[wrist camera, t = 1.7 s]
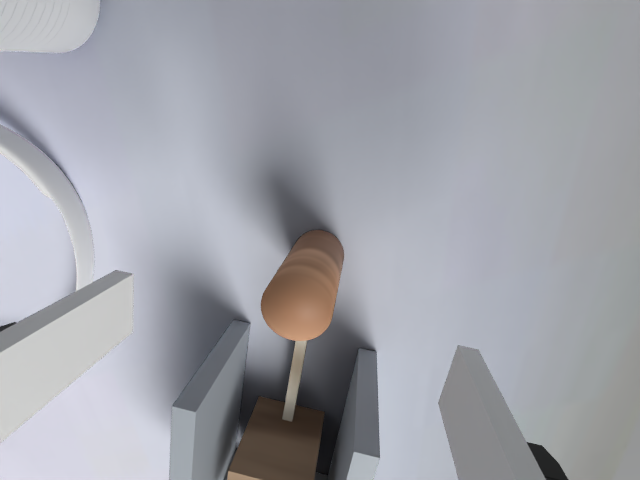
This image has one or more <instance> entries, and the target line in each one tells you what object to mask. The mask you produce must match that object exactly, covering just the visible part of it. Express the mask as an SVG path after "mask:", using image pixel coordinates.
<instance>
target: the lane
mask: <svg viewBox="0 0 640 480" xmlns="http://www.w3.org/2000/svg"><path fill="white" fill-rule="evenodd" d="M249 331H250V323H247V322H242V321H238V320H233V321H232V323H231V324H230V325H229V327H228V328H227V330H226V331H225V333H224V334H223V335H222V337H221V338H220V340H219V341H218V342H217V344H216V345H215V347H214V348H213V349H212V351H211V352H210V354H209V355H208V356H207V358H206V359H205V361H204V362H203V363H202V365H201V366H200V368H199V369H198V370H197V372H196V373H195V375H194V376H193V377H192V379H191V380H190V382H189V383H188V384H187V386H186V387H185V389H184V390H183V391H182V393H181V394H180V396H179V397H178V398H177V400H176V401H175V403H174V404H173V406H172V417H171V443H170V470H169V480H227V477H228V470H229V468H230V465H231V463H232V461H233V458H234V456H235V453H236V452H235V449H236V440H237V432H238V423H239V415H240V407H241V398H242V390H243V381H244V373H245V365H246V356H247V348H248V339H249ZM379 460H380V445H379V413H378V382H377V352H375V351H371V350H366V349H362V348H359V350H358V354H357V358H356V362H355V366H354V370H353V374H352V379H351V383H350V387H349V391H348V395H347V399H346V403H345V408H344V412H343V416H342V420H341V424H340V428H339V432H338V436H337V441H336V445H335V449H334V453H333V457H332V461H331V465H330V469H329V474H328V475H325V474H321V473H317V472H315V478H314V480H373V479H374V476H375V473H376V469H377V466H378V463H379Z"/></svg>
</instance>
